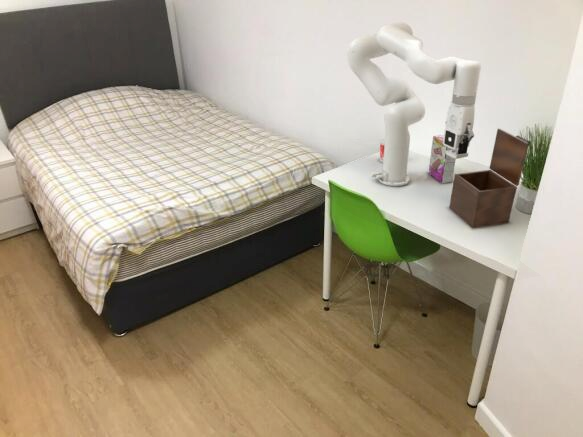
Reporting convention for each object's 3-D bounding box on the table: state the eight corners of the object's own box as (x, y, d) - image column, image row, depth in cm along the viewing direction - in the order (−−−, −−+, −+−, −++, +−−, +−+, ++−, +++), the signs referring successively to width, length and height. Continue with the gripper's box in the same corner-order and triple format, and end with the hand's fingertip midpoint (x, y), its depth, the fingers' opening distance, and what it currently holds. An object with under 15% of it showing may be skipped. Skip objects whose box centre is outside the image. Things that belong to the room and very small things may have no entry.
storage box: (472, 228, 155) (479, 192, 148) (449, 208, 168) (454, 174, 161) (508, 222, 158) (517, 187, 151) (483, 203, 170) (490, 169, 164)
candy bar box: (427, 173, 195) (432, 135, 187) (438, 171, 196) (443, 134, 188) (441, 184, 185) (447, 145, 177) (452, 182, 186) (458, 143, 178)
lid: (526, 143, 144) (542, 141, 145) (497, 128, 156) (512, 127, 157) (516, 186, 151) (531, 184, 152) (489, 168, 163) (503, 166, 165)
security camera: (441, 154, 166) (444, 127, 161) (456, 151, 168) (460, 124, 164) (453, 160, 161) (457, 132, 156) (469, 156, 163) (473, 129, 158)
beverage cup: (383, 164, 204) (385, 133, 197) (375, 159, 209) (377, 129, 202) (394, 161, 206) (397, 131, 199) (387, 157, 211) (389, 127, 204)
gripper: (440, 94, 162) (433, 143, 170) (468, 107, 147) (460, 159, 156) (459, 92, 163) (452, 140, 172) (489, 105, 148) (479, 157, 157)
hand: (456, 149), depth 164 cm, fingers closed on security camera, 7 cm apart
